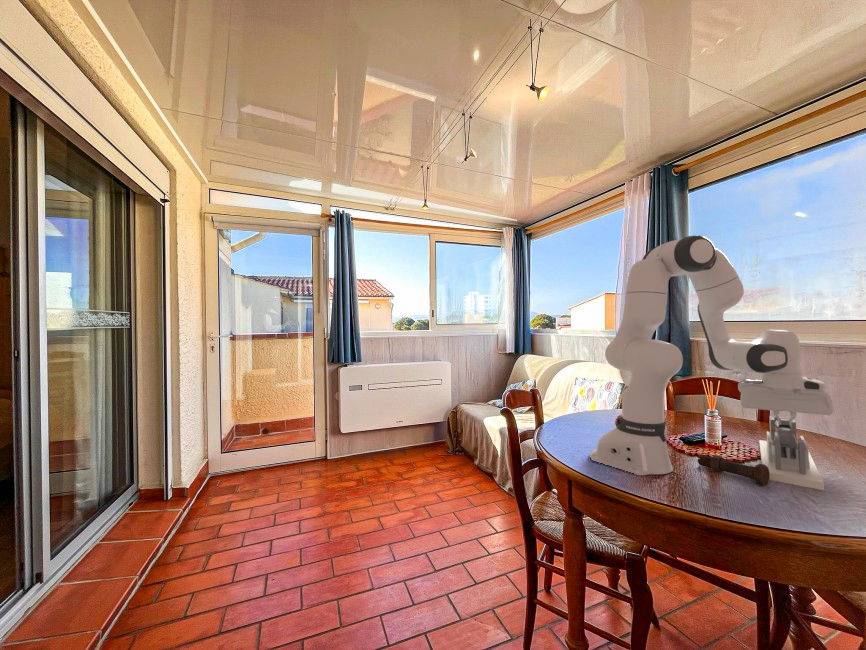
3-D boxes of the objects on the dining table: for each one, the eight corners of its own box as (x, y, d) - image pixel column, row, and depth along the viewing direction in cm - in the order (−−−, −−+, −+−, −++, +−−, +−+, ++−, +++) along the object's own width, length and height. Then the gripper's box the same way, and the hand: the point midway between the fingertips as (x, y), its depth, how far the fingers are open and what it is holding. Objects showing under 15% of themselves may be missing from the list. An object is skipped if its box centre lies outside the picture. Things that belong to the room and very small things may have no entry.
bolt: (701, 471, 103) (768, 489, 90) (693, 466, 101) (760, 484, 88) (705, 452, 104) (770, 468, 91) (697, 447, 102) (763, 462, 89)
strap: (781, 446, 93) (781, 443, 93) (775, 422, 111) (775, 419, 111) (797, 449, 91) (797, 445, 91) (788, 424, 109) (788, 421, 109)
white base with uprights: (763, 478, 93) (761, 437, 93) (759, 445, 117) (758, 413, 117) (824, 490, 86) (821, 446, 86) (806, 452, 109) (805, 418, 109)
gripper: (737, 380, 111) (740, 422, 110) (833, 385, 97) (836, 433, 97) (737, 377, 115) (740, 418, 115) (829, 381, 101) (832, 427, 101)
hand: (785, 425), depth 106 cm, fingers closed, pressing on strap
